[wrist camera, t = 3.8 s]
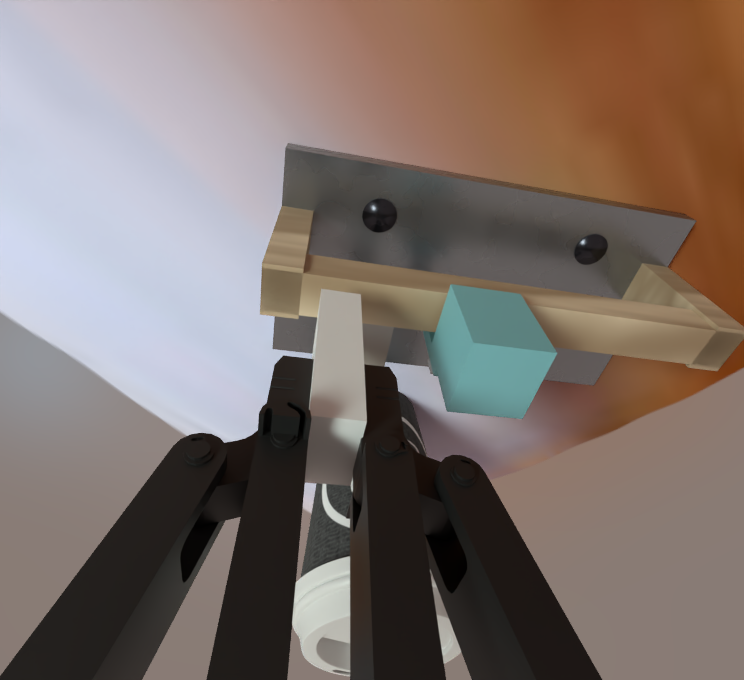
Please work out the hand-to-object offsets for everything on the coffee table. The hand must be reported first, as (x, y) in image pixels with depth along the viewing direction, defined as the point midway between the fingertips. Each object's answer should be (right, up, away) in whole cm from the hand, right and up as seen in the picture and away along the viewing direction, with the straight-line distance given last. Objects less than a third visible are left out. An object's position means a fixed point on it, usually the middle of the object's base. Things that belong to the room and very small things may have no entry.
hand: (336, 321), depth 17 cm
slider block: (+5, +3, +8) cm, 10 cm away
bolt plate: (+7, +3, +9) cm, 12 cm away
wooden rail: (+7, +3, +8) cm, 11 cm away
